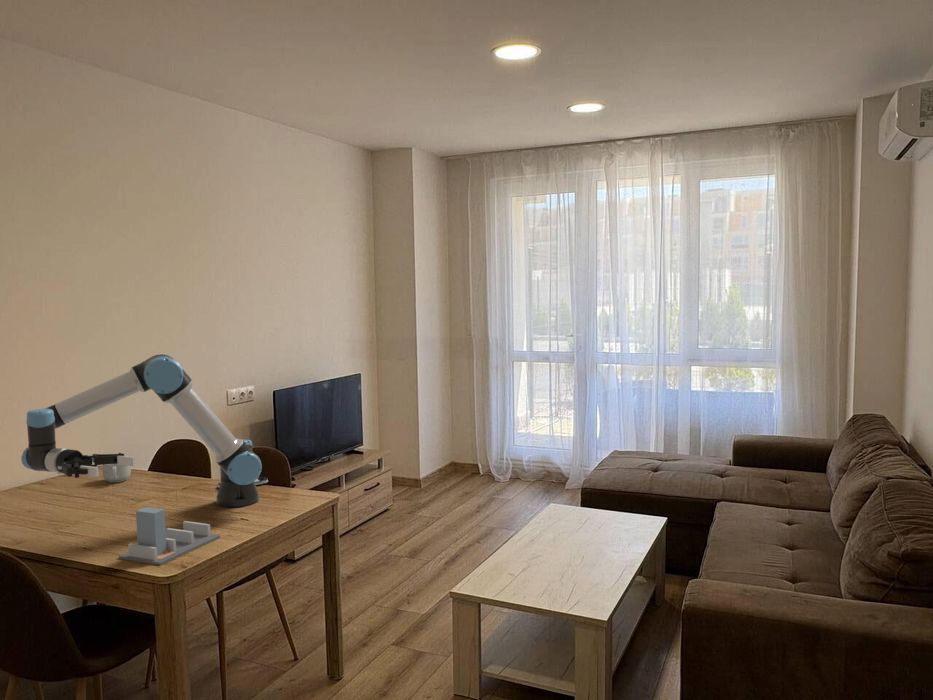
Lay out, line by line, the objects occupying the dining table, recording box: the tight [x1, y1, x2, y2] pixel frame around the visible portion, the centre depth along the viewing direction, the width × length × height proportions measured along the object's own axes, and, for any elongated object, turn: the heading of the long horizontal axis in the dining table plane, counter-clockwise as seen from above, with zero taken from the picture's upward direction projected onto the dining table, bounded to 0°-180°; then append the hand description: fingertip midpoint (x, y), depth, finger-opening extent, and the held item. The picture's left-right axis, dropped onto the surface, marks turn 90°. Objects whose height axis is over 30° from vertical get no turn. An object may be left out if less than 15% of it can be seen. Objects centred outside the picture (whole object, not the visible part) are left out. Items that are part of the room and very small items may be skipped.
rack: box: [118, 520, 221, 566], centre depth 225 cm, size 25×16×4 cm, turn 158°
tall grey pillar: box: [135, 506, 167, 556], centre depth 217 cm, size 4×7×13 cm, turn 69°
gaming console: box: [217, 476, 269, 488], centre depth 296 cm, size 19×9×3 cm, turn 120°
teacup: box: [102, 464, 132, 483], centre depth 303 cm, size 14×11×8 cm
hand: (116, 466), depth 220 cm, fingers open, 13 cm apart
